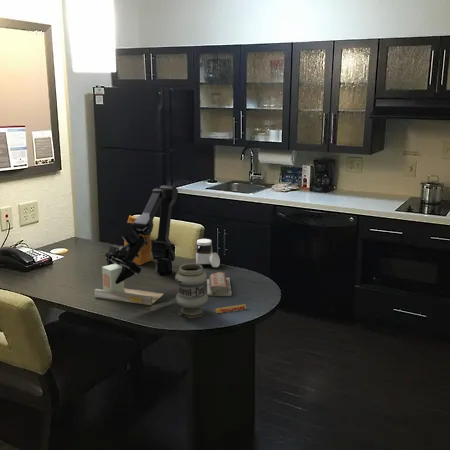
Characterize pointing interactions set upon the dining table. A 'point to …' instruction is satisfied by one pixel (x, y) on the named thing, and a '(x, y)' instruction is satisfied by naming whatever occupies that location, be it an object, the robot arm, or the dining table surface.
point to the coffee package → (145, 250)
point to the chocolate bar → (230, 308)
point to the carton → (112, 278)
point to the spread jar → (206, 254)
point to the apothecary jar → (191, 290)
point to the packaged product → (218, 285)
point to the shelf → (130, 296)
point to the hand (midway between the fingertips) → (110, 280)
